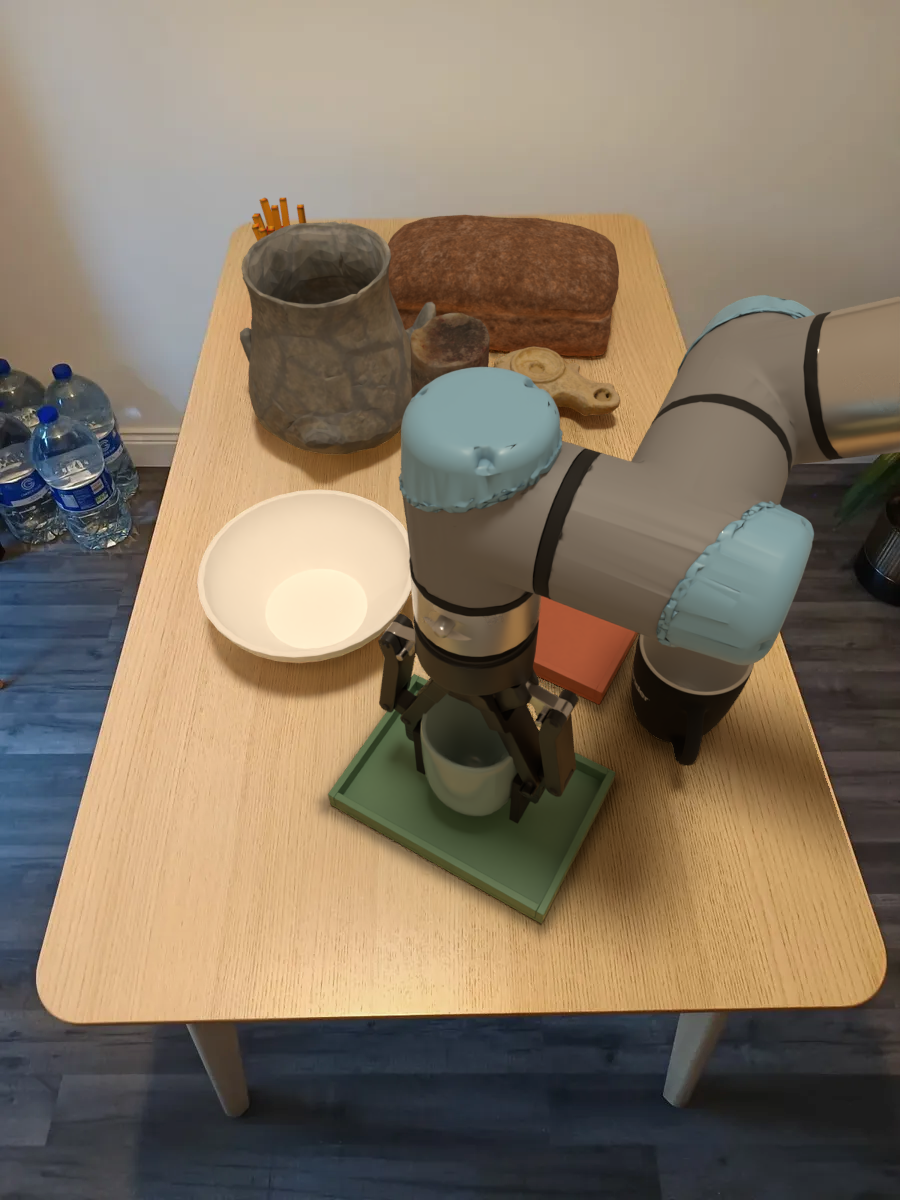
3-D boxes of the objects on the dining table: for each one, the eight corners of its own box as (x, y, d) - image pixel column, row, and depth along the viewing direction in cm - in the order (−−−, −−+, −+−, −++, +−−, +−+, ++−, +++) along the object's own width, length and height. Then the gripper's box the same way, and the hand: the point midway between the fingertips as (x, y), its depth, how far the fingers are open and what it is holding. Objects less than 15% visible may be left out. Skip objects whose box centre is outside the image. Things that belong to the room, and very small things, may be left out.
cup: (537, 762, 70) (545, 697, 62) (500, 846, 66) (504, 788, 58) (450, 728, 72) (448, 661, 65) (409, 807, 68) (401, 745, 60)
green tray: (612, 783, 71) (615, 772, 70) (541, 924, 64) (543, 915, 63) (414, 685, 77) (413, 673, 76) (330, 804, 70) (327, 794, 69)
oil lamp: (617, 433, 98) (623, 398, 94) (490, 430, 98) (491, 395, 94) (610, 374, 104) (616, 339, 100) (492, 372, 105) (493, 337, 101)
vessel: (223, 484, 93) (174, 324, 77) (266, 358, 107) (232, 200, 91) (422, 494, 92) (414, 333, 76) (440, 365, 105) (437, 206, 90)
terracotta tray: (667, 580, 84) (671, 567, 83) (599, 705, 76) (602, 693, 74) (511, 517, 90) (512, 504, 88) (431, 627, 81) (431, 614, 80)
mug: (620, 664, 78) (637, 596, 70) (720, 673, 78) (750, 605, 70) (620, 785, 71) (640, 724, 63) (731, 796, 70) (765, 736, 62)
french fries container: (268, 340, 109) (246, 235, 98) (275, 299, 115) (255, 195, 104) (324, 339, 109) (308, 234, 98) (328, 297, 115) (314, 194, 104)
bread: (397, 272, 118) (391, 190, 109) (612, 287, 115) (625, 203, 106) (373, 347, 108) (365, 263, 99) (609, 365, 105) (623, 280, 96)
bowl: (232, 536, 89) (217, 489, 83) (422, 536, 88) (419, 488, 83) (197, 700, 77) (176, 657, 71) (416, 699, 76) (412, 656, 71)
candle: (497, 502, 91) (505, 341, 75) (438, 529, 89) (433, 369, 73) (459, 460, 95) (459, 299, 79) (401, 485, 93) (389, 324, 77)
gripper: (298, 587, 52) (341, 762, 70) (611, 735, 46) (571, 886, 64) (366, 509, 56) (391, 694, 74) (663, 635, 50) (612, 804, 68)
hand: (474, 782), depth 69 cm, fingers closed on cup, 8 cm apart
